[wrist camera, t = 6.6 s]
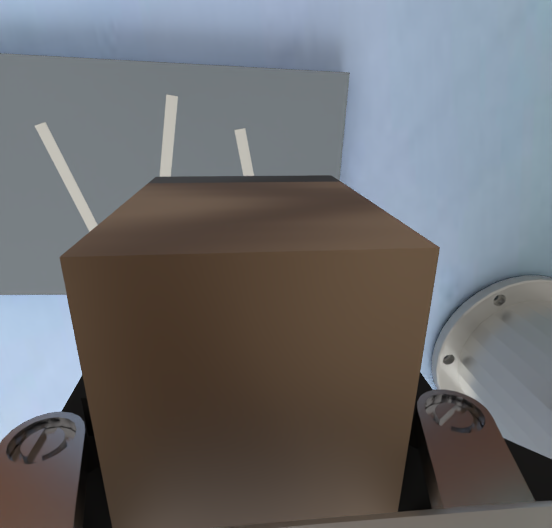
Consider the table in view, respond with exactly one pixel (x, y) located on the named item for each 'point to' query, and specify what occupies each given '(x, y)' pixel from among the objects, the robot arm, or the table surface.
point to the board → (141, 142)
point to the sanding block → (250, 350)
